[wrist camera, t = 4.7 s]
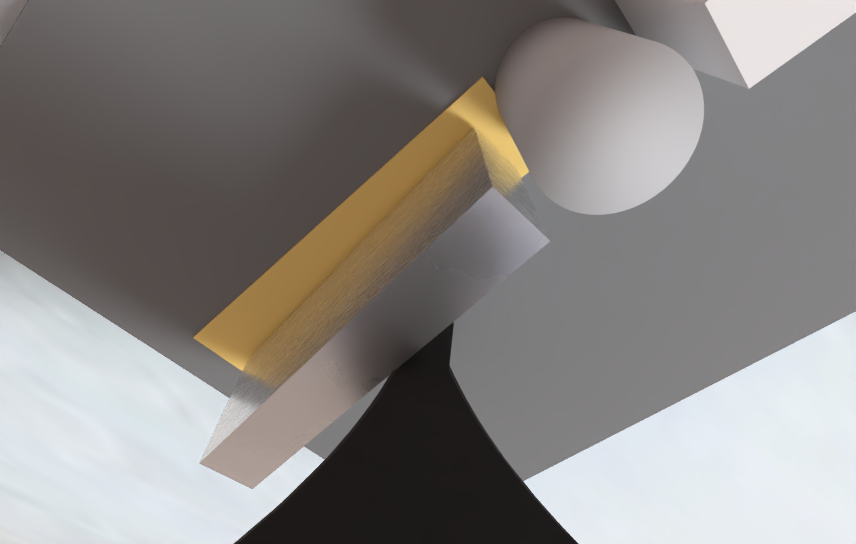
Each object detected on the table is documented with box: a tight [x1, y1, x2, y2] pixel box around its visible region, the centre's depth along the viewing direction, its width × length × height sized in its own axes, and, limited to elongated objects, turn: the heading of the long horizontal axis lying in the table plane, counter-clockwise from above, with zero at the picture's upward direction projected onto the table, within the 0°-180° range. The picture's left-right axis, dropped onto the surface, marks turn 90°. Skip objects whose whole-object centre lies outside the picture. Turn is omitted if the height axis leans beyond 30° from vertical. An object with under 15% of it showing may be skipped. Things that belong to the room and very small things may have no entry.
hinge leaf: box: [200, 127, 550, 489], centre depth 9 cm, size 8×1×3 cm, turn 137°
